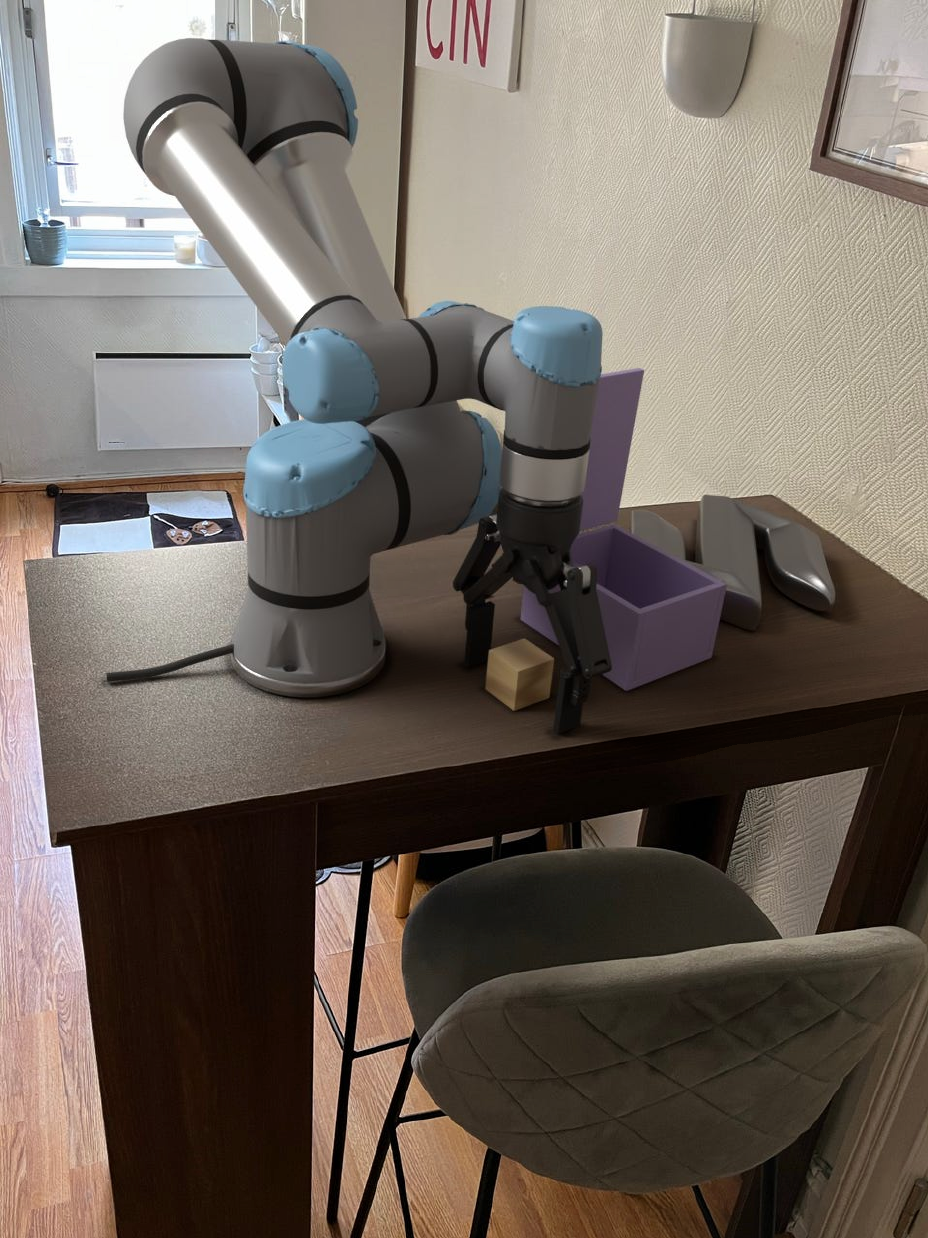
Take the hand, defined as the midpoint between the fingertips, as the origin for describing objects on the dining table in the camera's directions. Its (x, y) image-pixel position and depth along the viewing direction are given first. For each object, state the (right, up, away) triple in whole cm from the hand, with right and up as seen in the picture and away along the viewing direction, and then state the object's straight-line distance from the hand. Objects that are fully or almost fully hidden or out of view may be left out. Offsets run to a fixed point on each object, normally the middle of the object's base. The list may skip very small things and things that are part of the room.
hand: (519, 694), depth 108 cm
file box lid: (+7, +24, +8) cm, 26 cm away
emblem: (+26, +13, +27) cm, 40 cm away
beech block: (0, 0, 0) cm, 0 cm away
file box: (+11, +5, +11) cm, 16 cm away
